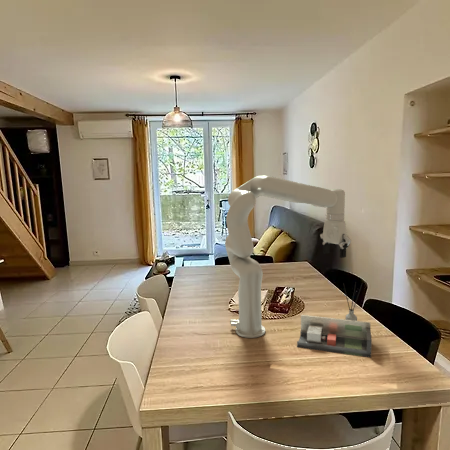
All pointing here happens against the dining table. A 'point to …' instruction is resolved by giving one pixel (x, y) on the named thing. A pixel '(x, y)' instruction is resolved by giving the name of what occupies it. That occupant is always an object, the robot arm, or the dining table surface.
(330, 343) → the salmon pink rectangular block
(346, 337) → the grey compartment tray
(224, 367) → the dining table surface
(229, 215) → the robot arm
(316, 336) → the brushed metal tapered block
